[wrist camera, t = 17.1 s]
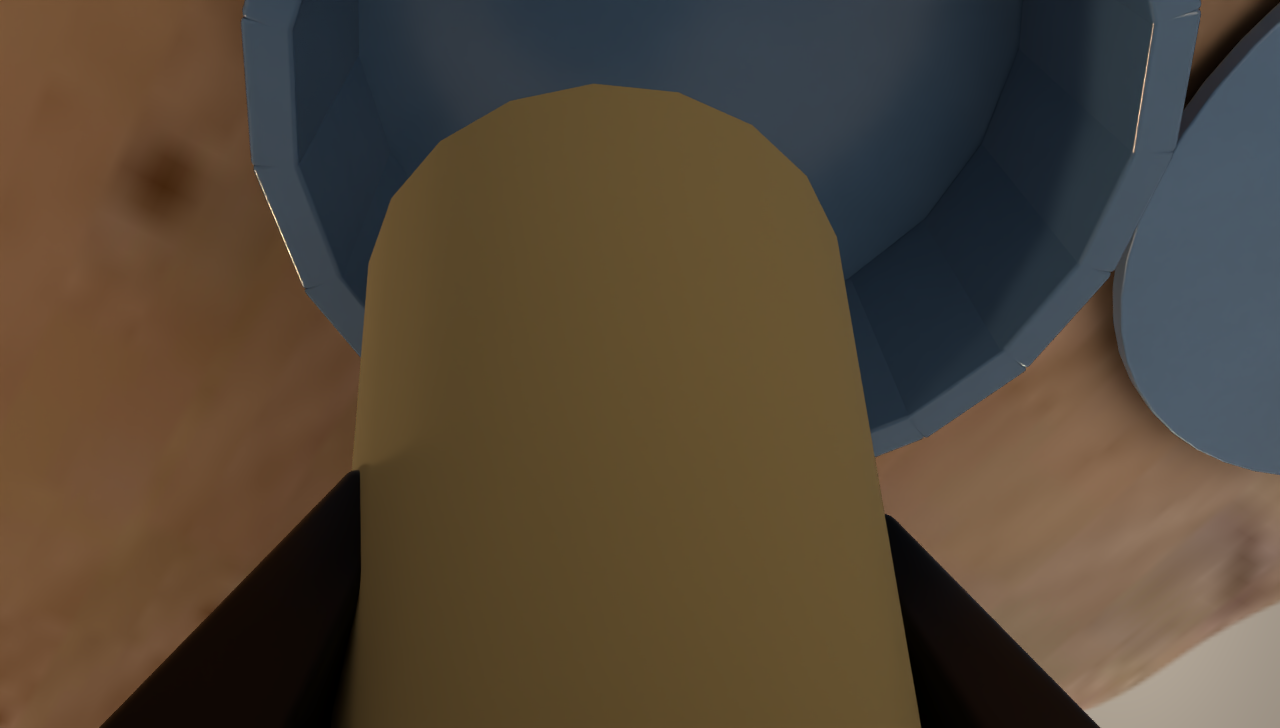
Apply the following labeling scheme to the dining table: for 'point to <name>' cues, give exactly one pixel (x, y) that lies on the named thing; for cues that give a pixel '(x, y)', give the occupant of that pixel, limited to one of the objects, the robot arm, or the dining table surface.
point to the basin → (794, 123)
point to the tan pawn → (616, 438)
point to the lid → (1214, 267)
